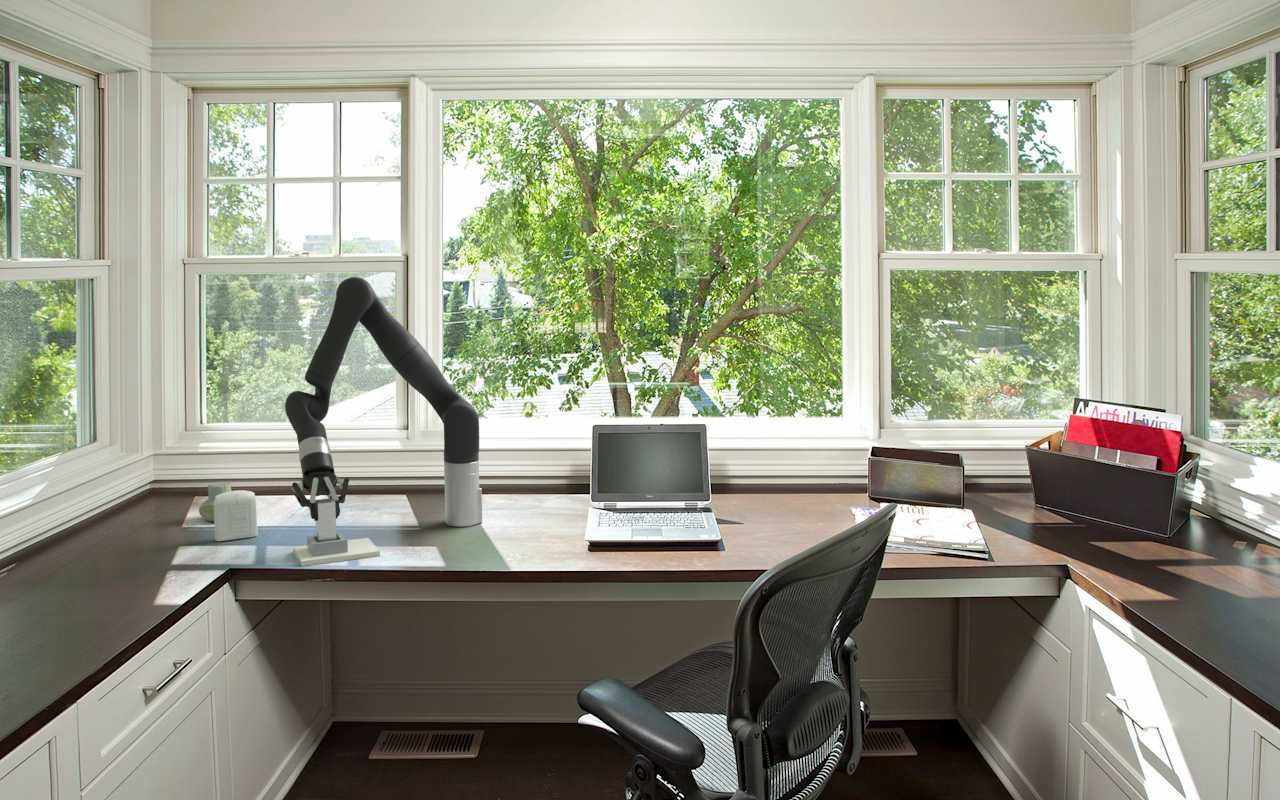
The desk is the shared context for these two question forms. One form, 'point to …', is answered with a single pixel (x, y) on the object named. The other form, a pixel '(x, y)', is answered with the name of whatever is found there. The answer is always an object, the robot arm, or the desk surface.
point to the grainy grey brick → (326, 520)
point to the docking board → (334, 550)
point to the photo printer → (235, 515)
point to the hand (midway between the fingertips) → (326, 517)
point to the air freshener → (208, 506)
